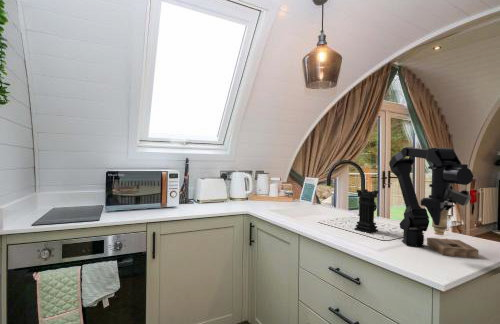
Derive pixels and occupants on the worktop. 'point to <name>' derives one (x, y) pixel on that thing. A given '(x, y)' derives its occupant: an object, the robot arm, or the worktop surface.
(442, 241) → the walnut block
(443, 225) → the oak peg
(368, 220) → the chess piece
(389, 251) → the worktop surface
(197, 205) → the worktop surface
